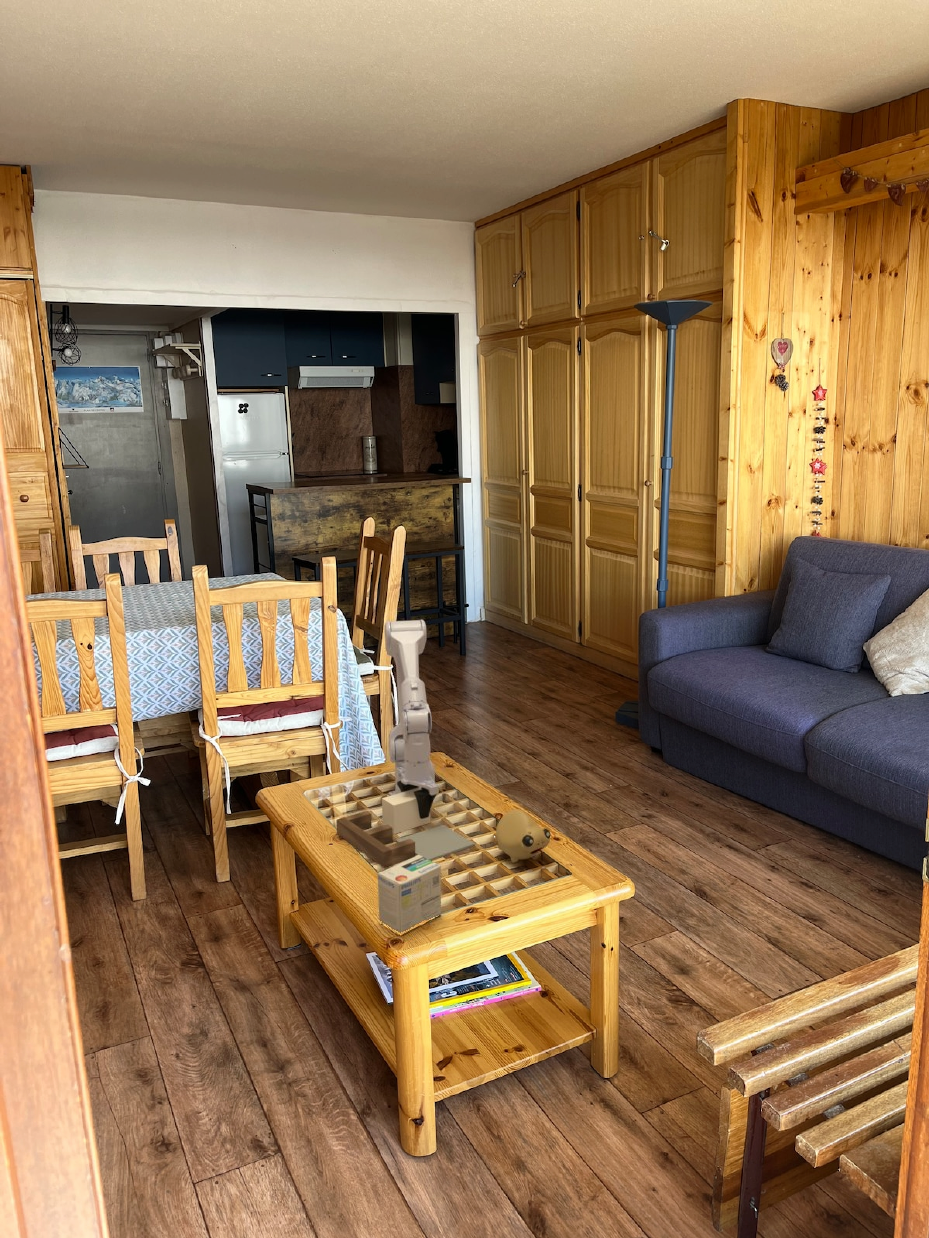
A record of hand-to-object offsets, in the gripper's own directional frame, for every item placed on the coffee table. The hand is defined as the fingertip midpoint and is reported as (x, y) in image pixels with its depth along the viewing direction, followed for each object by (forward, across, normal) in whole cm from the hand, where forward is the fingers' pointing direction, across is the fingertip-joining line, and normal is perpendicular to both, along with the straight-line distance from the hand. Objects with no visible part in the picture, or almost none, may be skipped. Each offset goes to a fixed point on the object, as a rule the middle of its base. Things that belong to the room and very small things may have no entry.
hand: (417, 813), depth 223 cm
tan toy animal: (+2, +29, +8) cm, 30 cm away
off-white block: (+2, 0, -3) cm, 4 cm away
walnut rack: (+2, +4, -15) cm, 15 cm away
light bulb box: (+2, +35, -26) cm, 43 cm away
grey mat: (+2, +12, -4) cm, 13 cm away
